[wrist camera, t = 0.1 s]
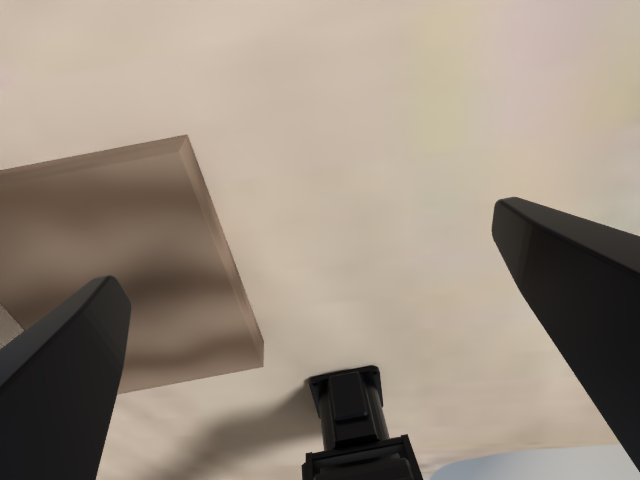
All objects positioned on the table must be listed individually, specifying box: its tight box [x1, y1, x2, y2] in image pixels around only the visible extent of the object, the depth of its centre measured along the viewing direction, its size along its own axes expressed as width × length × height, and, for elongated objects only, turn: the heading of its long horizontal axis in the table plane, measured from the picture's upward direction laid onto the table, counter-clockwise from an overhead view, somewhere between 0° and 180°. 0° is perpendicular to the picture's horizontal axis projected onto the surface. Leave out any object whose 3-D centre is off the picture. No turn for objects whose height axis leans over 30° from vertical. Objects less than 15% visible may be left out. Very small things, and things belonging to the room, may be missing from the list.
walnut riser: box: [0, 135, 264, 394], centre depth 26 cm, size 18×14×2 cm
